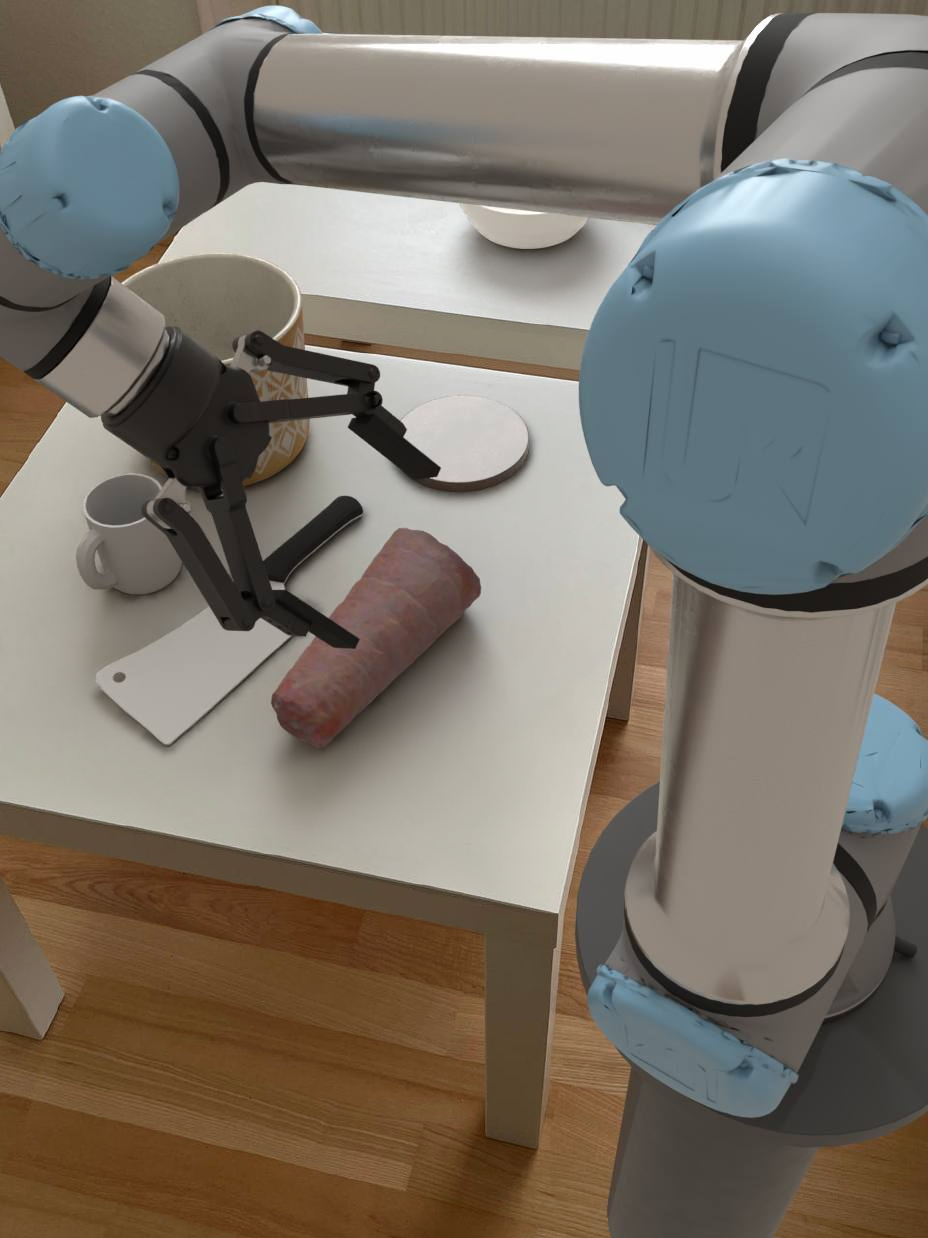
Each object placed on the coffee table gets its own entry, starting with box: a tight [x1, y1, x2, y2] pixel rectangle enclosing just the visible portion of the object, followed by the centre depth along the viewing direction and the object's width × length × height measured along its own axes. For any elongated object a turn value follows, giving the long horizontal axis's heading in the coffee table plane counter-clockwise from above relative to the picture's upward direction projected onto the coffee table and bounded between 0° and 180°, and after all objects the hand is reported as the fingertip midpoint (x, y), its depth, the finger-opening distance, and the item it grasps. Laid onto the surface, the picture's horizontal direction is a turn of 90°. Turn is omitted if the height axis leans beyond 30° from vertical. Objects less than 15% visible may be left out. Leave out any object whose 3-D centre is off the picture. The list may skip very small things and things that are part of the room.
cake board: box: [400, 395, 530, 492], centre depth 129 cm, size 14×14×1 cm
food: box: [270, 527, 482, 750], centre depth 106 cm, size 21×9×9 cm, turn 150°
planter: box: [120, 252, 311, 490], centre depth 125 cm, size 19×19×16 cm
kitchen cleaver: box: [95, 495, 364, 746], centre depth 114 cm, size 31×2×10 cm
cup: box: [75, 472, 183, 596], centre depth 114 cm, size 7×10×9 cm
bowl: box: [459, 203, 590, 250], centre depth 154 cm, size 18×18×7 cm
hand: (388, 557), depth 86 cm, fingers open, 13 cm apart
